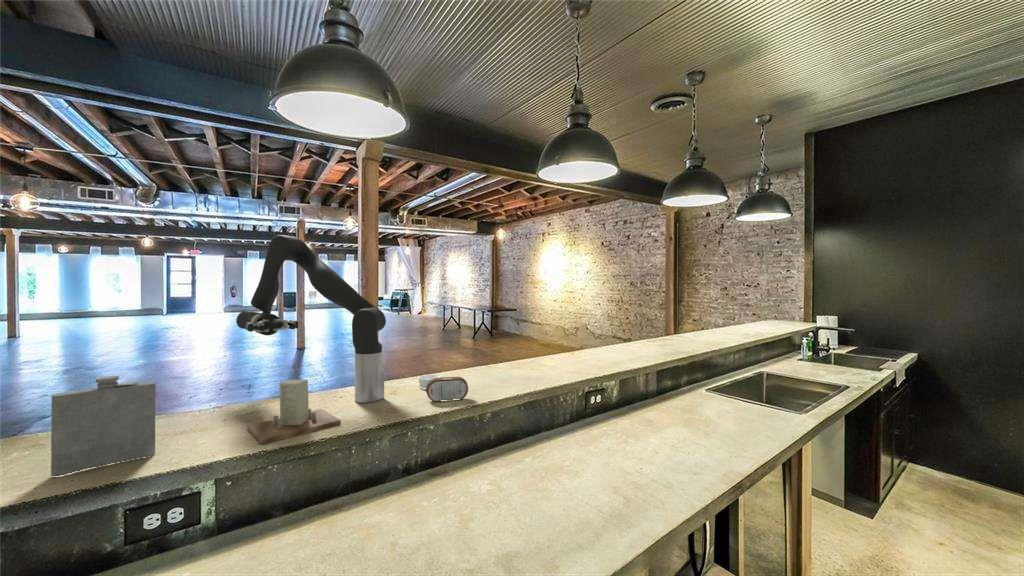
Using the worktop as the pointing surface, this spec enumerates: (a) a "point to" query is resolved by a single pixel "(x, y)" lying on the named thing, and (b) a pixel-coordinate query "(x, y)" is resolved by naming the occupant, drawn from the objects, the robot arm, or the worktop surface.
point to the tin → (447, 388)
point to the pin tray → (291, 426)
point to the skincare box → (294, 402)
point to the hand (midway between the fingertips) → (279, 327)
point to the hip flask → (102, 425)
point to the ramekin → (426, 380)
